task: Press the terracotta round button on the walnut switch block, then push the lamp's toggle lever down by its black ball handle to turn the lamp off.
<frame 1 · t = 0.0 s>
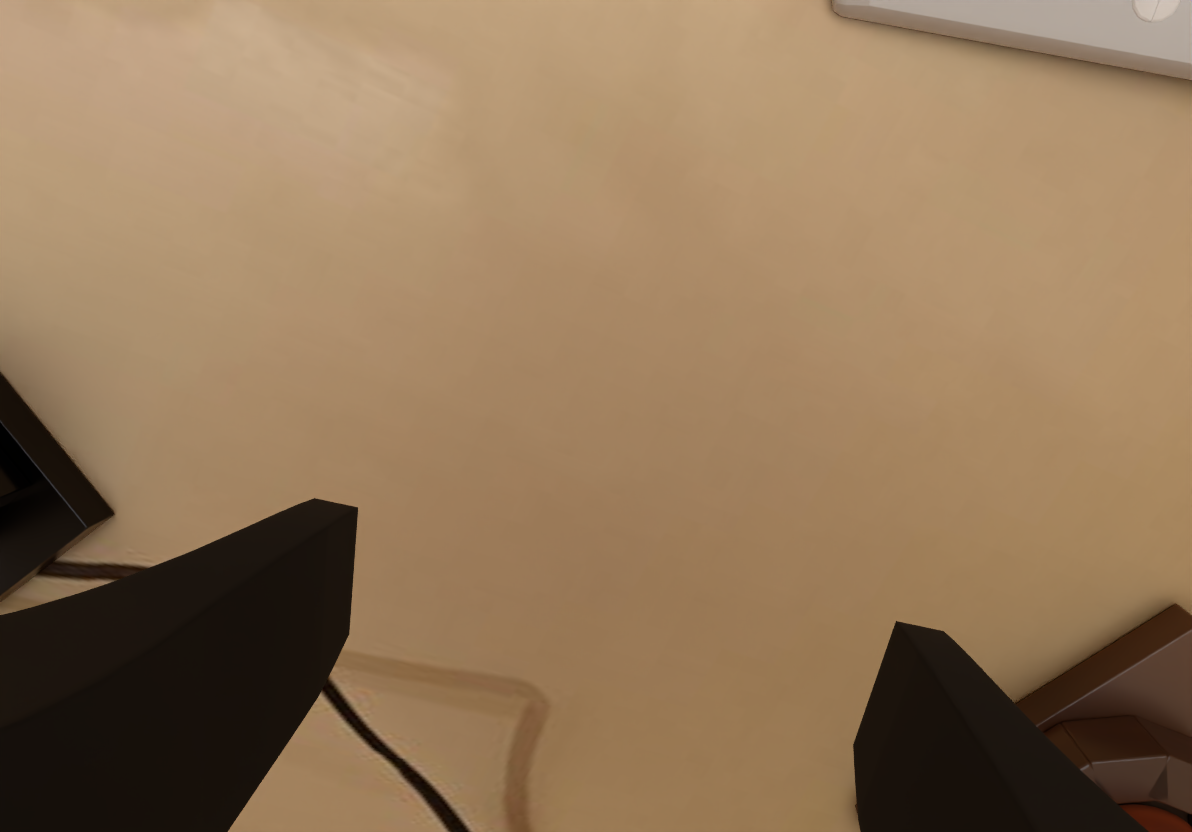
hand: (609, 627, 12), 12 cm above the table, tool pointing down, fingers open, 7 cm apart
switch block: (1084, 802, 25), on the table
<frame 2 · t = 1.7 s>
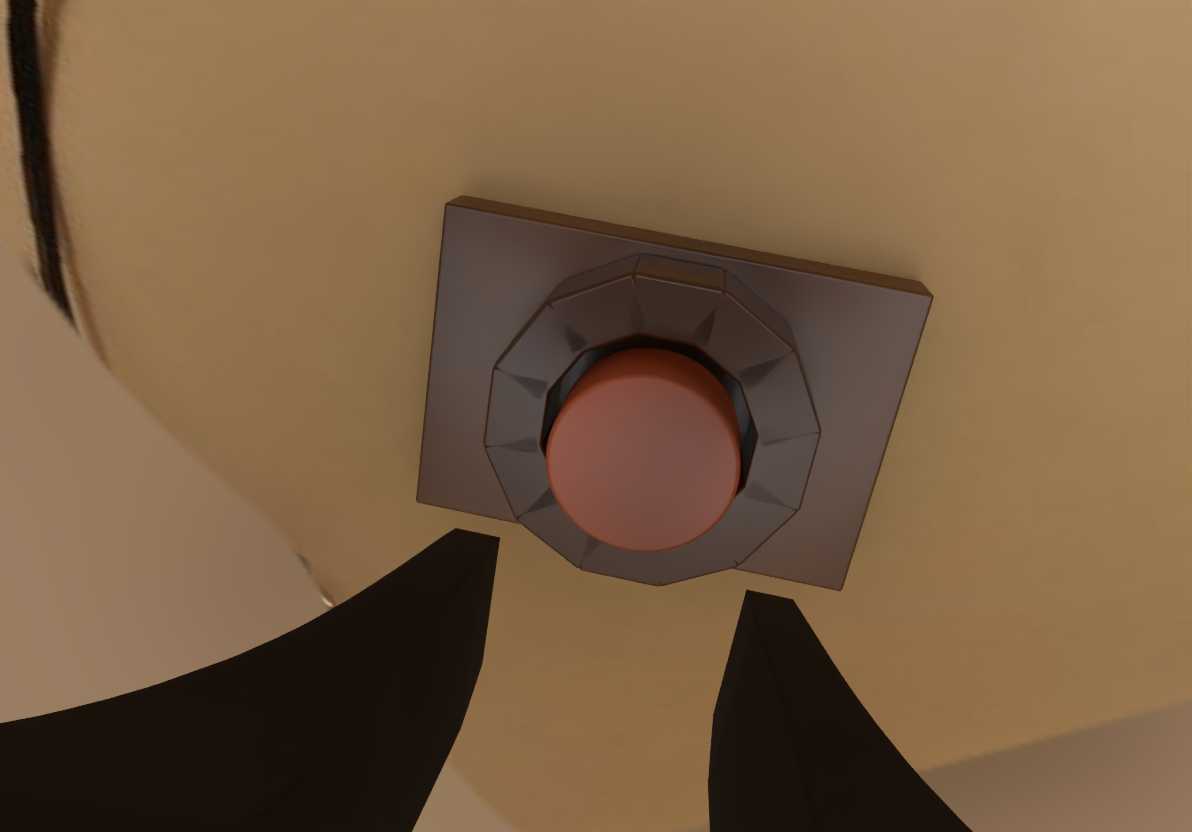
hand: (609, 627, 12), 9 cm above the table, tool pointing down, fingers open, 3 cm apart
switch block: (657, 389, 21), on the table
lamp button: (645, 449, 17), point 3 cm above the table, slide at 0.1 cm
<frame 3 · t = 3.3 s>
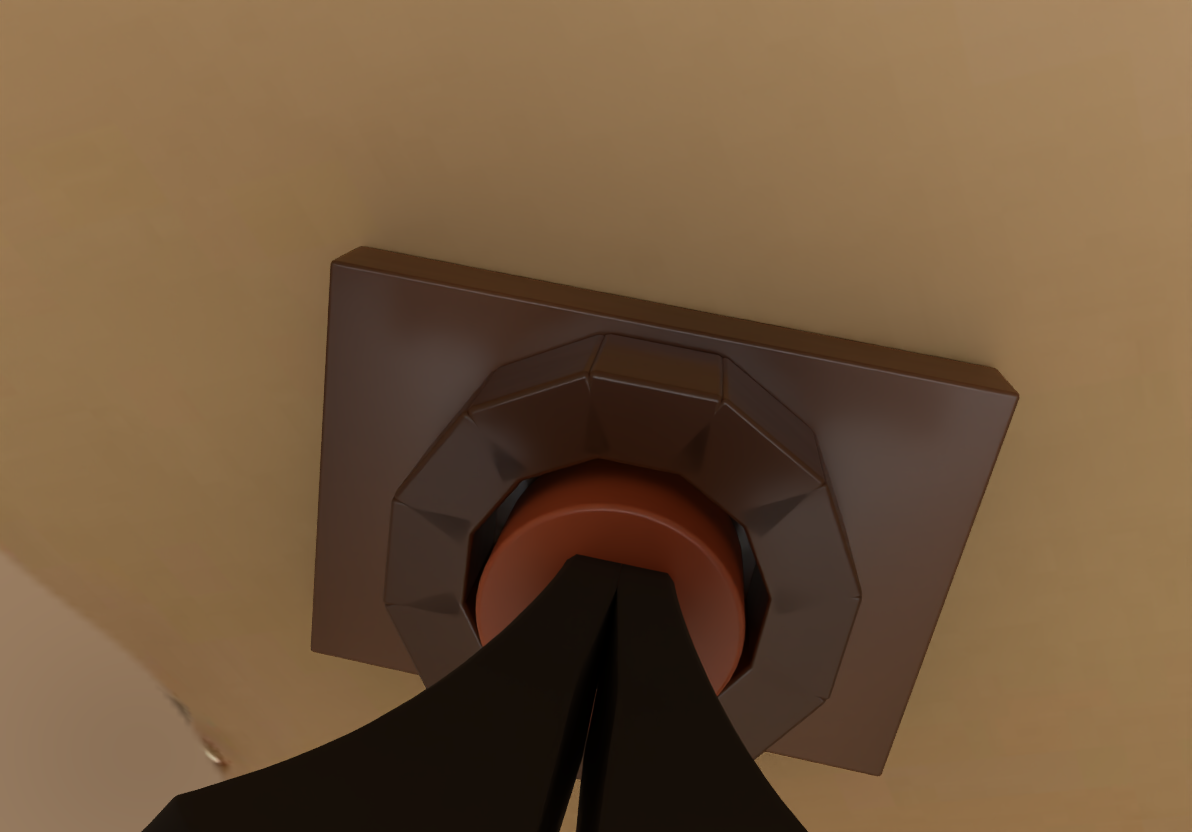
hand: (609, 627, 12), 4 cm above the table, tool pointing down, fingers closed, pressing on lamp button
switch block: (632, 503, 15), on the table
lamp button: (614, 592, 13), point 3 cm above the table, slide at -0.6 cm, touching gripper
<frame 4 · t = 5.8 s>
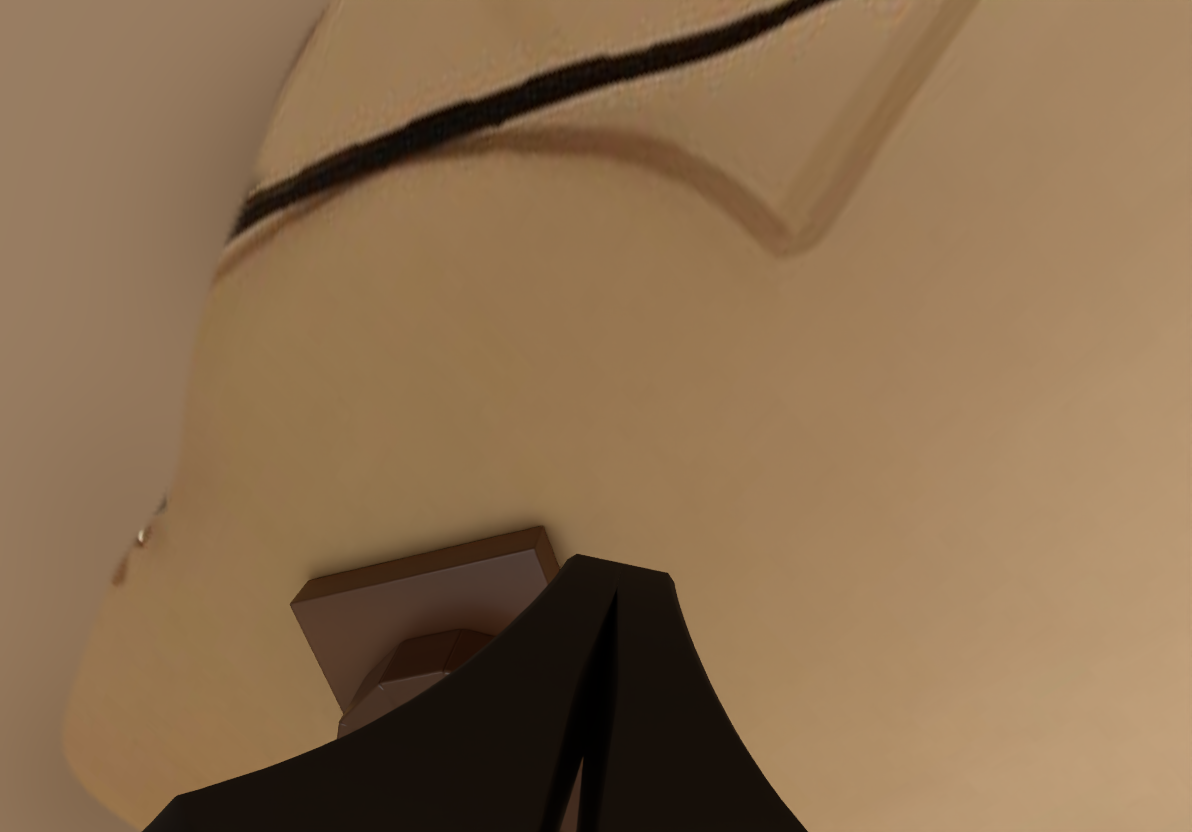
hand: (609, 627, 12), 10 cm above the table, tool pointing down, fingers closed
switch block: (486, 703, 26), on the table
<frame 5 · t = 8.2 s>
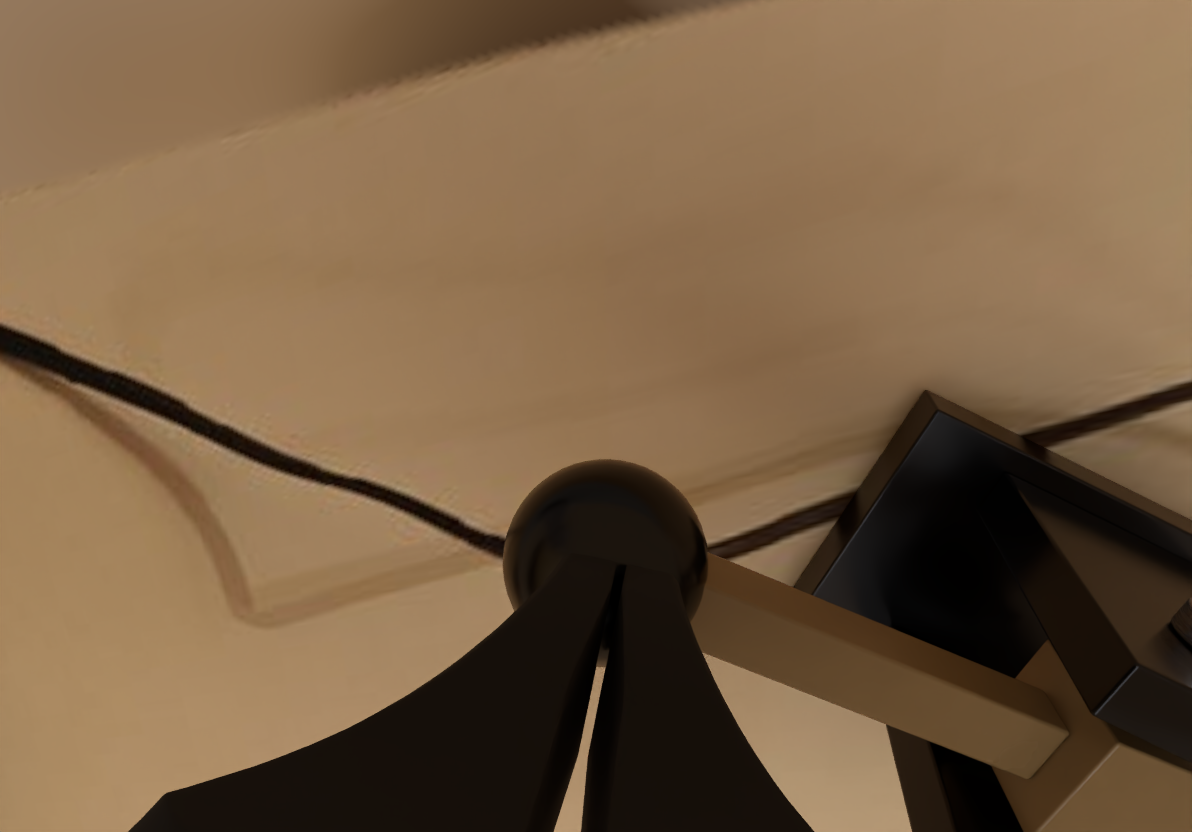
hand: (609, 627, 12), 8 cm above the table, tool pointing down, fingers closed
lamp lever: (867, 666, 14), point 6 cm above the table, hinge at 6.7°, touching gripper
lamp switch bracket: (1010, 583, 20), on the table
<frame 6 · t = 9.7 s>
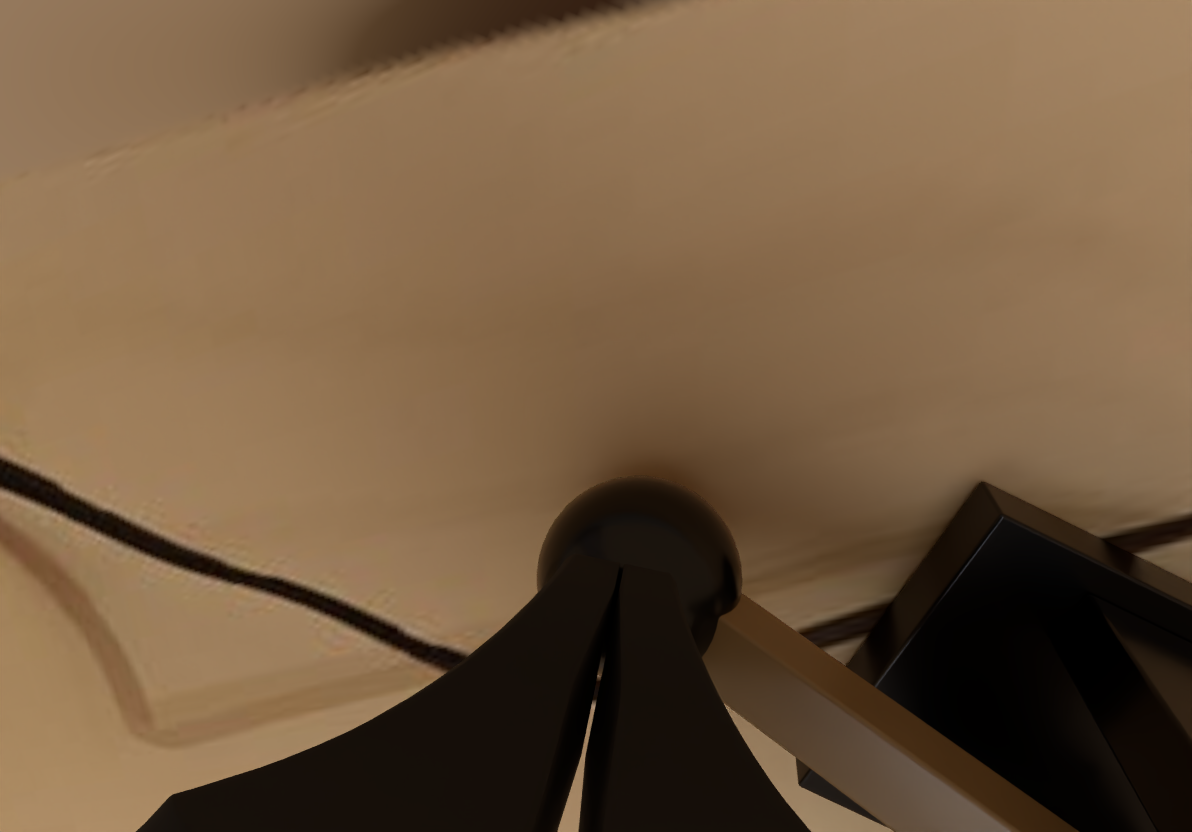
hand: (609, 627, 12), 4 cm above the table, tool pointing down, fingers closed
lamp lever: (909, 775, 12), point 4 cm above the table, hinge at -21.2°, touching gripper
lamp switch bracket: (1083, 716, 16), on the table
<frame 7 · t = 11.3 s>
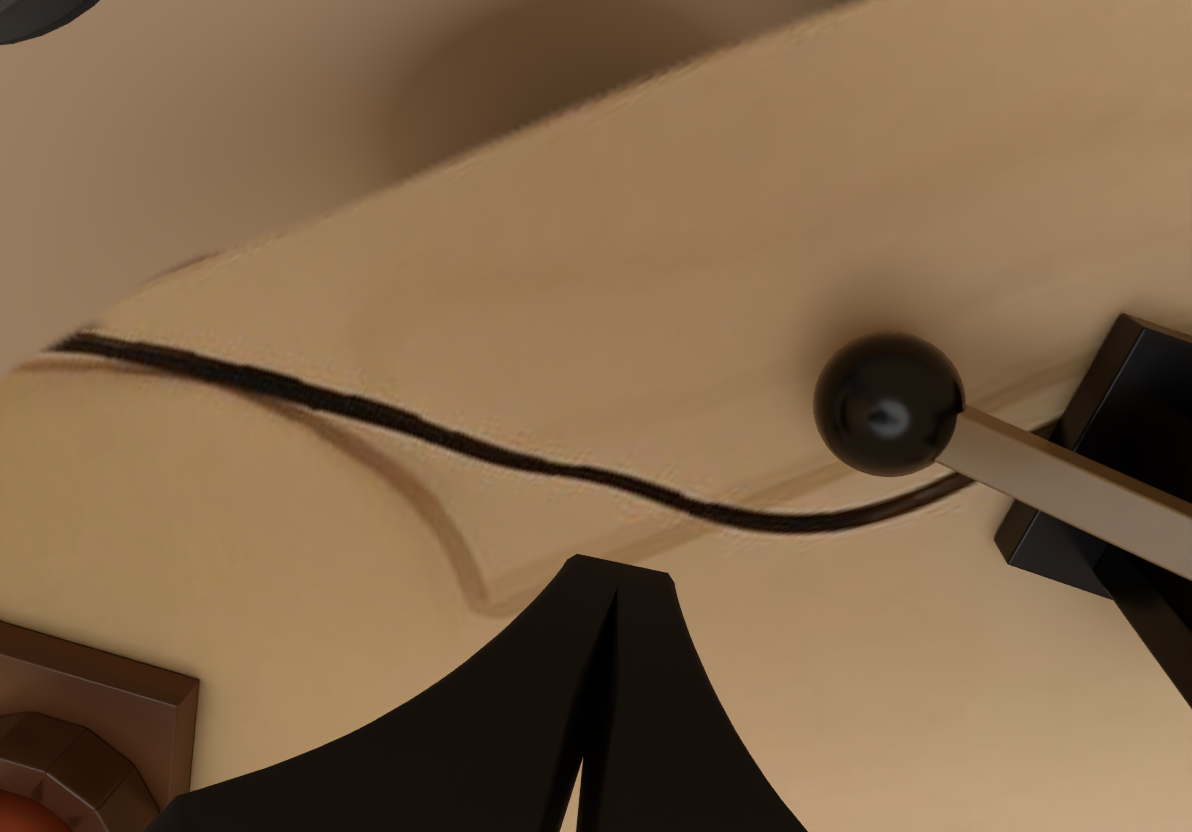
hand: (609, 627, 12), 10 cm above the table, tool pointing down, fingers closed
switch block: (83, 771, 29), on the table
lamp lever: (1108, 504, 17), point 4 cm above the table, hinge at -21.2°
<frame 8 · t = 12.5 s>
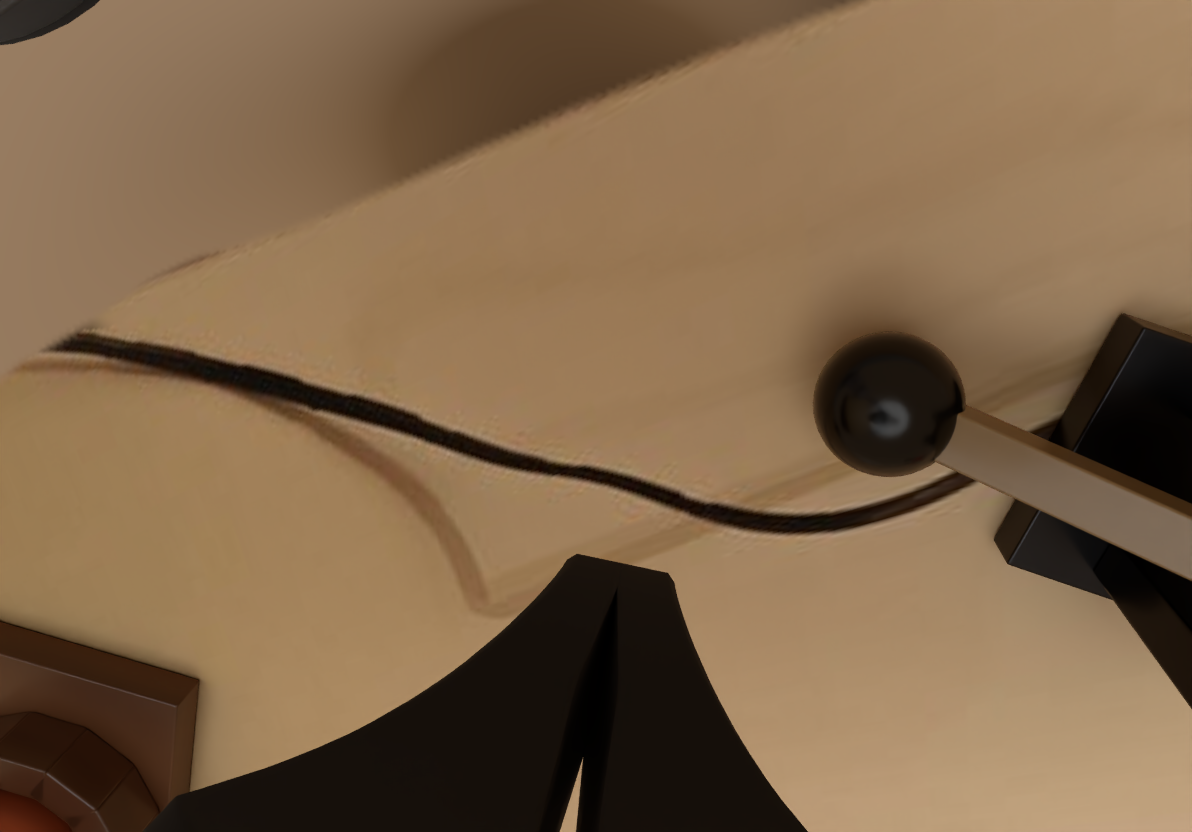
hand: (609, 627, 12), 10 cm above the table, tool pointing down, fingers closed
switch block: (83, 771, 29), on the table
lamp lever: (1108, 504, 17), point 4 cm above the table, hinge at -21.2°
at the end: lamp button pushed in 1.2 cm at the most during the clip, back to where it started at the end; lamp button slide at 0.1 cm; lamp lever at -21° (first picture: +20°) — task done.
